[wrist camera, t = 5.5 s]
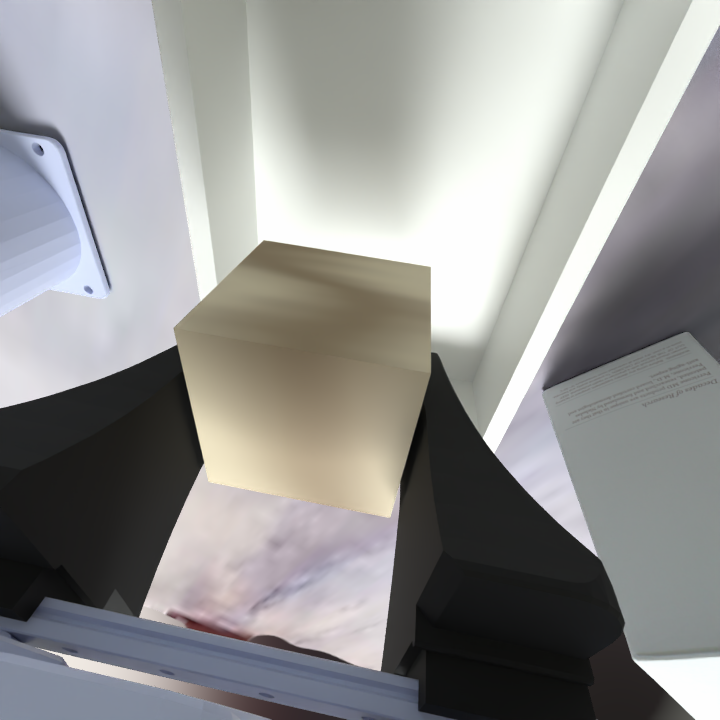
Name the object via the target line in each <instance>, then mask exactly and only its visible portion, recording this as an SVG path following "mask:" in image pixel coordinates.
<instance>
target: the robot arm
mask: <svg viewBox="0 0 720 720" xmlns="http://www.w3.org/2000/svg"><path fill="white" fill-rule="evenodd" d="M39 145H40V146H41V147H42V148H43V150H44V153H43V152H42V151H41V149H40V147H39ZM90 287H91V288H92V289H91V288H90ZM49 289H50V290H55V291H61V292H66V293H71V294H77V295H82V296H88V297H93V298H99V299H104V298H106V297H107V296H108V295H109V294H110V290H109V286H108V283H107V280H106V277H105V274H104V271H103V268H102V265H101V262H100V259H99V255H98V252H97V249H96V246H95V243H94V240H93V237H92V234H91V231H90V227H89V224H88V221H87V218H86V215H85V212H84V209H83V206H82V203H81V200H80V196H79V193H78V190H77V187H76V184H75V181H74V178H73V175H72V172H71V169H70V165H69V162H68V159H67V156H66V153H65V150H64V148H63V146H62V145H61V144H60V143H59V142H58V141H57V140H55V139H53V138H51V137H45V136H39V135H33V134H27V133H21V132H15V131H9V130H3V129H0V317H1V316H3V315H5V314H7V313H8V312H10V311H12V310H14V309H15V308H17V307H19V306H21V305H22V304H24V303H26V302H28V301H29V300H31V299H33V298H35V297H36V296H38V295H40V294H42V293H44V292H45V291H47V290H49ZM203 464H204V459H203V455H202V450H201V446H200V442H199V437H198V433H197V428H196V424H195V420H194V415H193V411H192V407H191V402H190V398H189V394H188V389H187V385H186V381H185V376H184V372H183V368H182V363H181V359H180V354H179V350H178V346H177V345H176V346H174V347H172V348H170V349H168V350H166V351H164V352H162V353H159V354H157V355H155V356H153V357H151V358H149V359H147V360H145V361H143V362H141V363H139V364H136V365H134V366H132V367H130V368H127V369H125V370H122V371H120V372H117V373H115V374H112V375H110V376H107V377H105V378H102V379H99V380H96V381H94V382H91V383H88V384H85V385H81V386H78V387H75V388H72V389H69V390H66V391H63V392H60V393H57V394H54V395H50V396H47V397H43V398H40V399H36V400H32V401H29V402H25V403H21V404H17V405H13V406H9V407H5V408H1V409H0V720H271V719H268V718H264V717H261V716H258V715H254V714H251V713H247V712H244V711H240V710H237V709H234V708H230V707H227V706H223V705H220V704H216V703H213V702H209V701H205V700H201V699H198V698H194V697H190V696H187V695H184V694H180V693H176V692H173V691H170V690H165V689H161V688H157V687H152V686H148V685H144V684H139V683H135V682H131V681H127V680H122V679H118V678H114V677H109V676H105V675H101V674H96V673H92V672H88V671H84V670H79V669H75V668H71V667H69V666H68V665H67V664H66V662H65V661H64V659H63V658H62V657H60V656H58V655H55V654H52V653H49V652H47V651H44V650H41V649H45V650H50V651H54V652H58V653H62V654H66V655H71V656H75V657H80V658H84V659H89V660H93V661H97V662H101V663H106V664H110V665H115V666H119V667H123V668H127V669H132V670H137V671H141V672H145V673H149V674H153V675H158V676H162V677H166V678H171V679H175V680H179V681H184V682H188V683H193V684H197V685H201V686H205V687H210V688H214V689H218V690H223V691H227V692H231V693H236V694H240V695H244V696H249V697H253V698H257V699H262V700H266V701H271V702H275V703H279V704H283V705H288V706H292V707H296V708H301V709H305V710H310V711H314V712H318V713H322V714H327V715H331V716H335V717H340V718H344V719H349V720H596V718H595V714H594V710H593V706H592V702H591V698H590V694H589V690H588V686H591V685H593V684H594V676H593V673H592V669H591V665H590V661H589V658H590V657H591V656H593V655H594V654H596V653H597V652H599V651H600V650H602V649H604V648H605V647H607V646H608V645H610V644H611V643H613V642H614V641H615V640H616V639H617V638H618V637H619V636H620V635H621V634H622V632H623V630H624V626H625V620H624V618H623V615H622V612H621V609H620V606H619V603H618V600H617V597H616V594H615V592H614V589H613V586H612V584H611V581H610V579H609V577H608V575H607V572H606V570H605V568H604V565H603V563H602V561H601V560H600V559H599V558H598V557H596V556H595V555H594V554H593V553H592V552H591V551H590V550H588V549H587V548H586V547H585V546H584V545H583V544H582V543H580V542H579V541H578V540H577V539H576V538H575V537H573V536H572V535H571V534H570V533H569V532H568V531H567V530H565V529H564V528H563V527H562V526H561V525H560V524H559V523H558V522H557V521H556V520H554V519H553V518H552V517H551V516H550V515H549V514H548V513H547V512H546V511H545V510H544V509H543V508H542V507H541V506H540V505H539V504H538V503H537V502H536V501H535V500H534V499H533V498H532V497H531V496H530V495H529V494H528V493H527V492H526V491H525V489H524V488H523V487H522V486H521V485H520V484H519V483H518V482H517V480H516V479H515V478H514V477H513V476H512V475H511V474H510V473H509V471H508V470H507V469H506V468H505V467H504V466H503V464H502V463H501V462H500V461H499V459H498V458H497V457H496V456H495V454H494V453H493V452H492V450H491V449H490V448H489V446H488V445H487V444H486V442H485V441H484V439H483V438H482V436H481V435H480V433H479V432H478V430H477V429H476V427H475V426H474V424H473V422H472V421H471V419H470V418H469V416H468V414H467V413H466V411H465V409H464V407H463V405H462V404H461V402H460V400H459V398H458V396H457V394H456V392H455V390H454V388H453V386H452V384H451V382H450V380H449V378H448V376H447V374H446V371H445V369H444V367H443V364H442V362H441V359H440V357H439V355H438V354H437V353H434V352H431V375H430V378H429V382H428V385H427V389H426V393H425V396H424V400H423V403H422V407H421V410H420V414H419V417H418V421H417V424H416V428H415V431H414V435H413V438H412V442H411V445H410V449H409V452H408V456H407V460H406V463H405V467H404V470H403V474H402V477H401V481H400V510H399V520H398V530H397V540H396V549H395V558H394V567H393V576H392V585H391V594H390V602H389V611H388V619H387V627H386V635H385V643H384V651H383V659H382V667H381V671H376V670H372V669H367V668H363V667H358V666H354V665H349V664H344V663H340V662H336V661H331V660H327V659H322V658H317V657H313V656H309V655H304V654H300V653H295V652H291V651H286V650H282V649H277V648H273V647H269V646H264V645H260V644H255V643H251V642H246V641H242V640H237V639H233V638H228V637H224V636H219V635H215V634H210V633H206V632H201V631H197V630H192V629H188V628H183V627H179V626H174V625H170V624H165V623H161V622H156V621H151V620H147V619H142V618H139V616H140V613H141V610H142V607H143V604H144V602H145V599H146V596H147V594H148V591H149V589H150V586H151V583H152V581H153V578H154V575H155V573H156V570H157V567H158V565H159V562H160V560H161V558H162V555H163V553H164V550H165V548H166V545H167V543H168V540H169V538H170V536H171V533H172V531H173V528H174V526H175V524H176V522H177V519H178V517H179V515H180V513H181V510H182V508H183V506H184V503H185V501H186V499H187V497H188V495H189V493H190V490H191V488H192V486H193V484H194V482H195V480H196V478H197V476H198V473H199V471H200V469H201V467H202V466H203ZM35 647H36V648H35ZM38 648H40V649H38Z"/></svg>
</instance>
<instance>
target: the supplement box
mask: <svg viewBox="0 0 720 720" xmlns="http://www.w3.org/2000/svg"><path fill="white" fill-rule="evenodd" d="M542 396H543V399H544V402H545V405H546V408H547V411H548V414H549V417H550V420H551V423H552V426H553V429H554V431H555V435H556V437H557V440H558V443H559V446H560V449H561V452H562V454H563V457H564V460H565V463H566V466H567V469H568V472H569V475H570V478H571V481H572V483H573V486H574V489H575V492H576V495H577V498H578V501H579V503H580V506H581V509H582V512H583V515H584V518H585V520H586V523H587V526H588V529H589V532H590V535H591V538H592V541H593V544H594V546H595V549H596V552H597V555H598V558H599V559H600V560H601V561H602V563H603V565H604V568H605V570H606V572H607V575H608V577H609V579H610V581H611V584H612V586H613V589H614V592H615V594H616V597H617V600H618V603H619V606H620V609H621V612H622V615H623V618H624V620H625V626H624V630H623V631H624V633H625V636H626V639H627V642H628V645H629V649H630V652H631V655H632V658H633V660H634V661H635V662H636V663H637V664H638V665H639V666H640V667H641V668H642V669H643V670H644V671H646V672H647V673H648V674H649V675H650V676H651V677H652V678H653V679H654V680H655V681H656V682H657V683H658V684H659V685H660V686H661V687H662V688H663V689H664V690H665V691H667V692H668V693H669V694H670V695H671V696H672V697H673V698H674V699H675V700H676V701H677V702H678V703H679V704H680V705H681V706H682V707H683V708H684V709H685V710H686V711H687V712H689V714H690V715H691V716H692V717H694V719H695V720H720V364H719V363H718V362H717V361H716V360H715V359H714V358H713V357H712V356H711V355H710V354H709V353H708V352H707V351H706V350H705V349H704V348H703V347H702V346H701V345H700V343H699V342H698V341H697V340H696V339H695V338H694V337H693V336H692V335H691V334H690V333H689V332H684V333H681V334H679V335H676V336H673V337H671V338H669V339H666V340H664V341H661V342H659V343H656V344H654V345H651V346H649V347H646V348H644V349H642V350H639V351H637V352H635V353H632V354H630V355H627V356H625V357H622V358H620V359H618V360H615V361H613V362H610V363H608V364H605V365H603V366H600V367H598V368H596V369H593V370H591V371H589V372H586V373H584V374H581V375H579V376H576V377H574V378H572V379H570V380H567V381H565V382H562V383H560V384H558V385H555V386H553V387H551V388H549V389H547V390H545V391H544V392H543V394H542Z"/></svg>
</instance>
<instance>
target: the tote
mask: <svg viewBox="0 0 720 720" xmlns="http://www.w3.org/2000/svg"><path fill="white" fill-rule="evenodd" d="M152 6H153V12H154V18H155V24H156V31H157V37H158V43H159V49H160V55H161V61H162V68H163V74H164V80H165V86H166V92H167V99H168V105H169V111H170V117H171V123H172V129H173V136H174V142H175V148H176V154H177V160H178V166H179V173H180V179H181V185H182V191H183V197H184V204H185V210H186V216H187V222H188V228H189V234H190V241H191V247H192V253H193V259H194V265H195V271H196V278H197V284H198V290H199V296H200V302H201V301H202V300H203V299H204V298H205V297H206V296H207V295H208V294H209V293H210V292H211V291H212V290H213V289H214V288H215V287H216V286H217V285H218V284H219V283H220V282H221V281H222V280H223V279H224V278H225V277H226V276H227V275H228V274H229V273H230V272H231V271H232V270H234V269H235V268H236V267H237V266H238V265H239V264H240V263H241V262H242V261H243V260H244V259H245V258H246V257H247V256H248V255H249V254H250V253H251V252H252V251H253V250H254V249H255V248H256V247H257V246H258V245H259V244H260V243H261V242H262V241H263V240H267V241H273V242H279V243H286V244H292V245H298V246H304V247H311V248H317V249H323V250H329V251H336V252H342V253H348V254H354V255H361V256H367V257H373V258H379V259H386V260H392V261H398V262H404V263H411V264H417V265H423V266H429V267H431V352H434V353H437V354H438V355H439V357H440V359H441V362H442V364H443V367H444V369H445V371H446V374H447V376H448V378H449V380H450V382H451V384H452V386H453V388H454V390H455V392H456V394H457V396H458V398H459V400H460V402H461V404H462V405H463V407H464V409H465V411H466V413H467V414H468V416H469V418H470V419H471V421H472V422H473V424H474V426H475V427H476V429H477V430H478V432H479V433H480V435H481V436H482V438H483V439H484V441H485V442H486V444H487V445H488V446H489V448H490V449H491V450H492V452H493V453H495V451H496V449H497V447H498V445H499V443H500V441H501V439H502V437H503V435H504V434H505V432H506V430H507V428H508V426H509V424H510V422H511V420H512V418H513V416H514V415H515V413H516V411H517V409H518V407H519V405H520V403H521V401H522V399H523V397H524V396H525V394H526V392H527V390H528V388H529V386H530V384H531V382H532V380H533V378H534V377H535V375H536V373H537V371H538V369H539V367H540V365H541V363H542V361H543V359H544V358H545V356H546V354H547V352H548V350H549V348H550V346H551V344H552V342H553V340H554V339H555V337H556V335H557V333H558V331H559V329H560V327H561V325H562V323H563V321H564V320H565V318H566V316H567V314H568V312H569V310H570V308H571V306H572V304H573V302H574V301H575V299H576V297H577V295H578V293H579V291H580V289H581V287H582V285H583V283H584V282H585V280H586V278H587V276H588V274H589V272H590V270H591V268H592V266H593V264H594V263H595V261H596V259H597V257H598V255H599V253H600V251H601V249H602V247H603V245H604V244H605V242H606V240H607V238H608V236H609V234H610V232H611V230H612V228H613V226H614V225H615V223H616V221H617V219H618V217H619V215H620V213H621V211H622V209H623V207H624V206H625V204H626V202H627V200H628V198H629V196H630V194H631V192H632V190H633V188H634V187H635V185H636V183H637V181H638V179H639V177H640V175H641V173H642V171H643V169H644V168H645V166H646V164H647V162H648V160H649V158H650V156H651V154H652V152H653V150H654V148H655V147H656V145H657V143H658V141H659V139H660V137H661V135H662V133H663V131H664V129H665V128H666V126H667V124H668V122H669V120H670V118H671V116H672V114H673V112H674V110H675V109H676V107H677V105H678V103H679V101H680V99H681V97H682V95H683V93H684V91H685V90H686V88H687V86H688V84H689V82H690V80H691V78H692V76H693V74H694V72H695V71H696V69H697V67H698V65H699V63H700V61H701V59H702V57H703V55H704V53H705V52H706V50H707V48H708V46H709V44H710V42H711V40H712V38H713V36H714V34H715V33H716V31H717V29H718V27H719V25H720V0H152Z"/></svg>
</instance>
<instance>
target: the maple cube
mask: <svg viewBox="0 0 720 720" xmlns="http://www.w3.org/2000/svg"><path fill="white" fill-rule="evenodd" d="M174 333H175V337H176V341H177V346H178V350H179V354H180V359H181V363H182V368H183V372H184V376H185V381H186V385H187V389H188V394H189V398H190V402H191V407H192V411H193V415H194V420H195V424H196V428H197V433H198V437H199V442H200V446H201V450H202V455H203V459H204V463H205V468H206V472H207V476H208V481H209V482H211V483H216V484H221V485H226V486H231V487H236V488H241V489H247V490H252V491H257V492H262V493H267V494H272V495H277V496H282V497H287V498H292V499H297V500H302V501H307V502H312V503H317V504H322V505H328V506H333V507H338V508H343V509H348V510H353V511H358V512H363V513H368V514H373V515H378V516H383V517H388V518H390V516H391V512H392V509H393V505H394V502H395V498H396V495H397V491H398V488H399V484H400V481H401V477H402V474H403V470H404V467H405V463H406V460H407V456H408V452H409V449H410V445H411V442H412V438H413V435H414V431H415V428H416V424H417V421H418V417H419V414H420V410H421V407H422V403H423V400H424V396H425V393H426V389H427V385H428V382H429V378H430V375H431V267H429V266H423V265H417V264H411V263H404V262H398V261H392V260H386V259H379V258H373V257H367V256H361V255H354V254H348V253H342V252H336V251H329V250H323V249H317V248H311V247H304V246H298V245H292V244H286V243H279V242H273V241H267V240H263V241H262V242H261V243H260V244H259V245H258V246H257V247H256V248H255V249H254V250H253V251H252V252H251V253H250V254H249V255H248V256H247V257H246V258H245V259H244V260H243V261H242V262H241V263H240V264H239V265H238V266H237V267H236V268H235V269H234V270H232V271H231V272H230V273H229V274H228V275H227V276H226V277H225V278H224V279H223V280H222V281H221V282H220V283H219V284H218V285H217V286H216V287H215V288H214V289H213V290H212V291H211V292H210V293H209V294H208V295H207V296H206V297H205V298H204V299H203V300H202V301H201V302H200V303H199V304H198V305H197V306H196V307H195V308H194V309H192V310H191V311H190V312H189V313H188V314H187V315H186V316H185V317H184V318H183V319H182V320H181V321H180V322H179V323H178V324H177V325H176V326H175V327H174Z"/></svg>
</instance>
